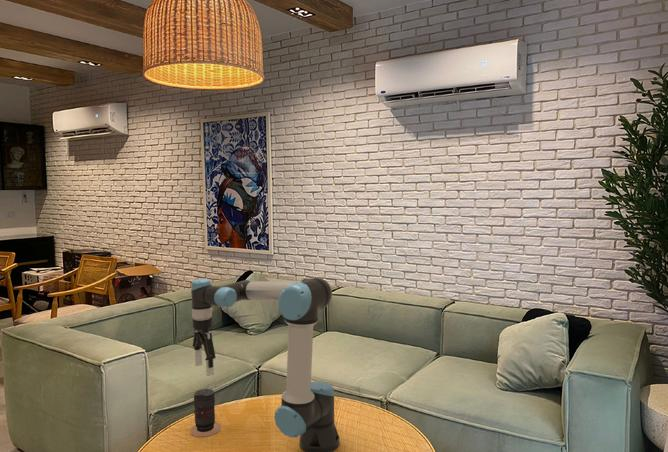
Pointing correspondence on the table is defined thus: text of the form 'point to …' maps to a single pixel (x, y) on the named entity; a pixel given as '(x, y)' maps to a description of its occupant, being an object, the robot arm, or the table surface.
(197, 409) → the camera lens
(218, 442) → the table surface
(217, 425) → the plate
